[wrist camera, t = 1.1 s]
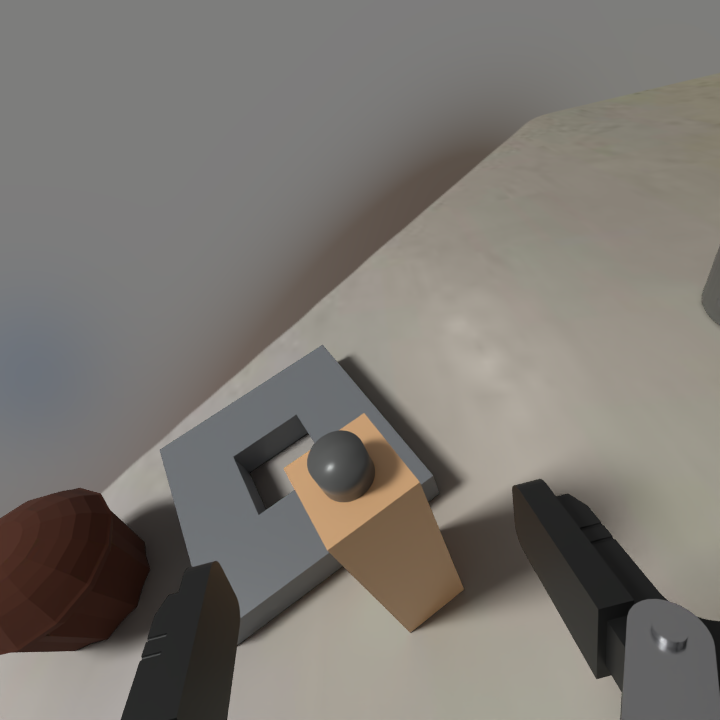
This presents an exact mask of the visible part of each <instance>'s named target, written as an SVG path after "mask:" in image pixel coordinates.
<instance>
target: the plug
mask: <svg viewBox="0 0 720 720" xmlns="http://www.w3.org/2000/svg"><path fill="white" fill-rule="evenodd" d="M284 470H285V472H286V474H287V476H288V478H289V480H290V482H291V483H292V485H293V487H294V489H295V491H296V493H297V495H298V497H299V498H300V500H301V502H302V504H303V506H304V508H305V510H306V512H307V513H308V515H309V517H310V519H311V521H312V523H313V525H314V527H315V528H316V530H317V532H318V534H319V536H320V538H321V540H322V542H323V543H324V545H325V547H326V549H327V551H328V552H329V553H330V554H331V555H332V556H333V557H334V558H335V559H336V560H337V561H338V562H339V563H340V564H341V565H342V566H343V567H344V568H345V569H346V570H347V571H348V572H349V573H350V574H351V575H352V576H353V577H354V578H355V579H356V580H358V581H359V582H360V583H361V584H362V585H363V586H364V587H365V588H366V589H367V590H368V591H369V592H370V593H371V594H372V595H373V596H374V597H375V598H376V599H377V600H378V601H379V602H380V603H381V604H382V605H383V606H384V607H385V608H386V609H387V610H388V611H389V612H390V613H391V614H392V615H393V616H394V617H395V618H396V619H397V620H398V621H399V622H400V623H401V624H402V625H403V626H404V627H405V628H406V629H407V630H408V631H409V632H410V633H411V632H412V631H413V630H415V629H416V628H417V627H418V626H420V625H421V624H422V623H423V622H424V621H426V620H427V619H428V618H429V617H431V616H432V615H433V614H434V613H436V612H437V611H438V610H439V609H441V608H442V607H443V606H444V605H446V604H447V603H448V602H449V601H451V600H452V599H453V598H454V597H456V596H457V595H458V594H459V593H460V592H462V591H463V590H464V588H463V585H462V583H461V581H460V578H459V576H458V573H457V571H456V568H455V566H454V564H453V561H452V559H451V556H450V554H449V551H448V549H447V547H446V544H445V542H444V539H443V537H442V535H441V532H440V530H439V527H438V525H437V522H436V520H435V518H434V515H433V513H432V510H431V508H430V505H429V503H428V501H427V498H426V496H425V493H424V491H423V489H422V486H421V484H420V482H419V480H418V479H417V478H416V477H415V475H414V474H413V473H412V472H411V471H410V469H409V468H408V467H407V466H406V464H405V463H404V462H403V461H402V459H401V458H400V457H399V456H398V454H397V453H396V452H395V451H394V449H393V448H392V447H391V446H390V444H389V443H388V442H387V441H386V439H385V438H384V437H383V436H382V434H381V433H380V432H379V431H378V430H377V428H376V427H375V426H374V425H373V423H372V422H371V421H370V420H369V418H368V417H367V416H366V415H365V413H363V414H362V415H360V416H359V417H357V418H356V419H355V420H353V421H352V422H350V423H349V424H347V425H346V426H344V427H343V428H341V429H340V430H339V431H333V432H330V433H328V434H326V435H324V436H322V437H321V438H320V439H318V440H317V441H316V442H315V444H314V445H313V446H312V448H311V450H310V451H308V452H307V453H305V454H304V455H302V456H301V457H299V458H298V459H296V460H295V461H294V462H292V463H291V464H289V465H288V466H286V467H285V468H284Z"/></svg>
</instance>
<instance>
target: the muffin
mask: <svg viewBox="0 0 720 720" xmlns="http://www.w3.org/2000/svg"><path fill="white" fill-rule="evenodd" d="M149 571H150V567H149V564H148V561H147V558H146V553H145V543H144V541H143V540H142V539H141V538H140V537H139V536H137V535H136V534H135V533H134V532H133V531H132V530H131V529H130V528H129V527H128V526H127V525H126V524H125V523H123V522H122V521H121V520H120V519H119V518H118V517H117V516H116V515H115V514H114V513H113V512H112V511H111V510H110V509H109V508H108V506H107V504H106V502H105V500H104V498H103V497H102V495H101V494H100V493H97V492H93V491H89V490H86V489H82V488H77V489H73V490H67V491H62V492H58V493H54V494H50V495H47V496H44V497H40V498H36V499H33V500H30V501H27V502H25V503H24V504H22V505H20V506H19V507H17V508H16V509H14V510H12V511H11V512H9V513H8V514H6V515H5V516H3V517H2V518H0V655H2V654H6V653H10V652H52V651H76V650H78V649H80V648H82V647H84V646H87V645H89V644H91V643H94V642H98V641H102V640H106V639H108V638H109V637H110V636H111V634H112V633H113V632H114V631H115V629H116V628H117V627H118V626H119V624H120V623H121V622H122V621H123V620H124V619H125V618H126V617H127V616H128V615H129V614H130V613H131V612H132V611H133V610H134V609H135V608H136V607H137V605H138V601H139V598H140V594H141V591H142V587H143V585H144V583H145V580H146V578H147V576H148V573H149Z"/></svg>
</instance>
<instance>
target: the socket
mask: <svg viewBox="0 0 720 720" xmlns="http://www.w3.org/2000/svg"><path fill="white" fill-rule="evenodd" d="M363 413H365V415H366V416H367V417H368V418H369V420H370V421H371V422H372V423H373V425H374V426H375V427H376V428H377V430H378V431H379V432H380V433H381V434H382V436H383V437H384V438H385V439H386V441H387V442H388V443H389V444H390V446H391V447H392V448H393V449H394V451H395V452H396V453H397V454H398V456H399V457H400V458H401V459H402V461H403V462H404V463H405V464H406V466H407V467H408V468H409V469H410V471H411V472H412V473H413V474H414V475H415V477H416V478H417V479H418V480H419V482H420V484H421V486H422V489H423V491H424V493H425V496H426V498H427V501H428V502H429V501H430V500H431V499H433V498H434V497H435V496H437V495H438V494H439V490H438V488H437V485H436V482H435V479H434V476H433V475H432V474H431V472H430V471H429V470H428V469H427V468H426V466H425V465H424V464H423V463H422V462H421V461H420V459H419V458H418V457H417V456H416V455H415V453H414V452H413V451H412V450H411V449H410V448H409V446H408V445H407V444H406V443H405V442H404V440H403V439H402V438H401V437H400V436H399V435H398V433H397V432H396V431H395V430H394V429H393V427H392V426H391V425H390V424H389V423H388V421H387V420H386V419H385V418H384V417H383V416H382V414H381V413H380V412H379V411H378V410H377V408H376V407H375V406H374V405H373V404H372V403H371V401H370V400H369V399H368V398H367V397H366V395H365V394H364V393H363V392H362V391H361V390H360V388H359V387H358V386H357V385H356V384H355V382H354V381H353V380H352V379H351V378H350V377H349V375H348V374H347V373H346V372H345V371H344V369H343V368H342V367H341V366H340V365H339V363H338V362H337V361H336V360H335V359H334V358H333V356H332V355H331V354H330V353H329V352H328V350H327V349H326V348H325V347H324V346H323V345H321V346H320V347H318V348H317V349H315V350H314V351H312V352H311V353H309V354H307V355H306V356H304V357H303V358H301V359H300V360H298V361H297V362H295V363H294V364H292V365H290V366H289V367H287V368H286V369H284V370H283V371H281V372H280V373H278V374H276V375H275V376H273V377H272V378H270V379H269V380H267V381H266V382H264V383H263V384H261V385H259V386H258V387H256V388H255V389H253V390H252V391H250V392H249V393H247V394H245V395H244V396H242V397H241V398H239V399H238V400H236V401H235V402H233V403H231V404H230V405H228V406H227V407H225V408H224V409H222V410H221V411H219V412H218V413H216V414H214V415H213V416H211V417H210V418H208V419H207V420H205V421H204V422H202V423H200V424H199V425H197V426H196V427H194V428H193V429H191V430H190V431H188V432H186V433H185V434H183V435H182V436H180V437H179V438H177V439H176V440H174V441H173V442H171V443H169V444H168V445H166V446H165V447H163V448H162V449H160V453H161V457H162V460H163V464H164V467H165V471H166V475H167V478H168V482H169V486H170V489H171V493H172V496H173V500H174V504H175V507H176V511H177V515H178V518H179V522H180V526H181V529H182V533H183V536H184V540H185V544H186V547H187V551H188V555H189V558H190V562H191V566H192V567H194V566H198V565H202V564H205V563H209V562H213V561H218V562H219V563H220V565H221V567H222V569H223V571H224V573H225V575H226V577H227V579H228V581H229V582H230V584H231V586H232V588H233V590H234V592H235V594H236V596H237V599H238V602H239V607H240V628H239V635H238V642H237V645H238V644H240V643H241V642H242V641H244V640H245V639H246V638H248V637H249V636H250V635H252V634H253V633H254V632H256V631H257V630H258V629H260V628H261V627H262V626H264V625H265V624H266V623H268V622H269V621H270V620H272V619H273V618H274V617H276V616H277V615H278V614H280V613H281V612H282V611H284V610H285V609H286V608H288V607H289V606H290V605H292V604H293V603H294V602H296V601H297V600H298V599H300V598H301V597H302V596H304V595H305V594H306V593H308V592H309V591H310V590H312V589H313V588H314V587H316V586H317V585H318V584H320V583H321V582H322V581H324V580H325V579H326V578H328V577H329V576H330V575H332V574H333V573H334V572H336V571H337V570H338V569H340V568H341V567H342V565H341V564H340V563H339V562H338V561H337V560H336V559H335V558H334V557H333V556H332V555H331V554H330V553H329V552H328V551H327V549H326V547H325V545H324V543H323V542H322V540H321V538H320V536H319V534H318V532H317V530H316V528H315V527H314V525H313V523H312V521H311V519H310V517H309V515H308V513H307V512H306V510H305V508H304V506H303V504H302V502H301V500H300V498H299V497H298V495H297V493H296V491H295V490H294V491H292V492H291V493H290V494H288V495H287V496H285V497H284V498H282V499H281V500H280V501H278V502H277V503H275V504H274V505H272V506H271V507H270V508H268V509H267V510H266V508H265V506H264V504H263V502H262V500H261V497H260V495H259V493H258V491H257V489H256V486H255V484H254V482H253V480H252V478H251V475H250V472H251V471H253V470H254V469H256V468H257V467H258V466H260V465H261V464H263V463H264V462H266V461H267V460H269V459H270V458H272V457H273V456H275V455H276V454H278V453H279V452H281V451H282V450H283V449H285V448H286V447H288V446H289V445H291V444H292V443H294V442H295V441H297V440H298V439H300V438H301V437H303V436H304V435H306V434H307V433H309V435H310V437H311V438H312V440H313V441H314V443H315V442H316V441H317V440H318V439H320V438H321V437H322V436H324V435H326V434H328V433H330V432H333V431H339V430H340V429H341V428H343V427H344V426H346V425H347V424H349V423H350V422H352V421H353V420H355V419H356V418H357V417H359V416H360V415H362V414H363Z"/></svg>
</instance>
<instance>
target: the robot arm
mask: <svg viewBox="0 0 720 720" xmlns="http://www.w3.org/2000/svg"><path fill="white" fill-rule="evenodd" d="M702 304H703V307H704V309H705V311H706V313H707V314H708V315H709V316H710V317H711V319H712V320H714V321H715V322H716V323H717V324H719V325H720V246H719V249H718V252H717V254H716V257H715V259H714V262H713V265H712V268H711V271H710V273H709V276H708V279H707V282H706V284H705V287H704V290H703V293H702ZM512 494H513V505H514V517H515V527H516V532H517V536H518V539H519V541H520V544H521V546H522V548H523V550H524V552H525V554H526V556H527V558H528V559H529V561H530V563H531V565H532V566H533V568H534V570H535V572H536V573H537V575H538V577H539V579H540V580H541V582H542V584H543V586H544V587H545V589H546V591H547V593H548V595H549V596H550V598H551V600H552V602H553V603H554V605H555V607H556V609H557V610H558V612H559V614H560V616H561V617H562V619H563V621H564V623H565V624H566V626H567V628H568V630H569V631H570V633H571V635H572V637H573V639H574V640H575V642H576V644H577V646H578V647H579V649H580V651H581V653H582V654H583V656H584V658H585V660H586V661H587V663H588V665H589V667H590V668H591V670H592V672H593V674H594V675H595V677H596V679H599V678H602V677H606V676H610V675H612V677H613V678H614V680H615V682H616V683H617V685H618V687H619V688H620V690H621V692H622V698H621V715H620V720H720V621H711V620H706V619H702V618H699V617H697V616H695V615H694V614H693V613H691V612H690V611H688V610H687V609H685V608H684V607H682V606H680V605H677V604H675V603H672V602H669V601H668V600H667V599H665V598H664V597H663V596H662V595H661V594H660V593H659V592H658V590H657V589H656V588H655V587H654V586H653V584H652V583H651V582H650V581H649V579H648V578H647V577H646V576H645V575H644V573H643V572H642V571H641V570H640V569H639V567H638V566H637V565H636V564H635V563H634V561H633V560H632V559H631V558H630V557H629V555H628V554H627V553H626V552H625V551H624V549H623V548H622V547H621V546H620V545H619V543H618V542H617V541H616V540H614V539H613V537H612V535H611V534H610V532H609V531H608V530H607V529H606V528H605V526H602V524H601V522H600V520H599V519H598V518H597V517H596V516H595V514H594V513H593V512H592V511H591V510H590V508H589V507H588V506H587V505H585V504H584V503H582V502H581V501H579V500H577V499H576V498H574V497H573V496H571V495H569V494H565V495H561V496H557V497H556V496H555V495H554V493H553V492H552V491H551V489H550V488H549V487H548V485H547V484H546V483H545V482H544V481H543V480H542V479H538V480H534V481H530V482H526V483H522V484H518V485H514V486H513V487H512ZM239 628H240V607H239V602H238V599H237V596H236V594H235V592H234V590H233V588H232V586H231V584H230V582H229V581H228V579H227V577H226V575H225V573H224V571H223V569H222V567H221V565H220V563H219V562H218V561H213V562H209V563H205V564H202V565H198V566H194V567H190V568H187V569H186V571H185V573H184V575H183V579H182V582H181V586H180V589H179V592H178V593H175V594H171V595H168V597H167V598H166V600H165V601H164V603H163V604H162V606H161V607H160V609H159V610H158V612H157V613H156V615H155V616H154V620H153V623H152V626H151V629H150V632H149V635H148V642H146V644H145V647H144V650H143V653H142V656H141V657H142V661H140V662H139V665H138V668H137V672H136V675H135V678H134V681H133V684H132V687H131V690H130V693H129V696H128V699H127V702H126V705H125V708H124V711H123V714H122V717H121V720H227V716H228V708H229V701H230V694H231V686H232V679H233V672H234V664H235V657H236V650H237V642H238V635H239Z"/></svg>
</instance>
